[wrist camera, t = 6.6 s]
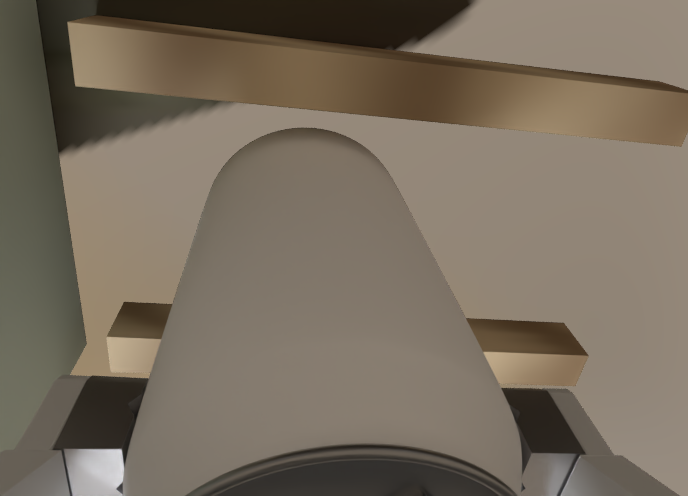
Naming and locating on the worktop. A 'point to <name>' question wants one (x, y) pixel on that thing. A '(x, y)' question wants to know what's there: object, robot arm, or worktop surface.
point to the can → (317, 345)
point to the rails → (384, 101)
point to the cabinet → (31, 232)
